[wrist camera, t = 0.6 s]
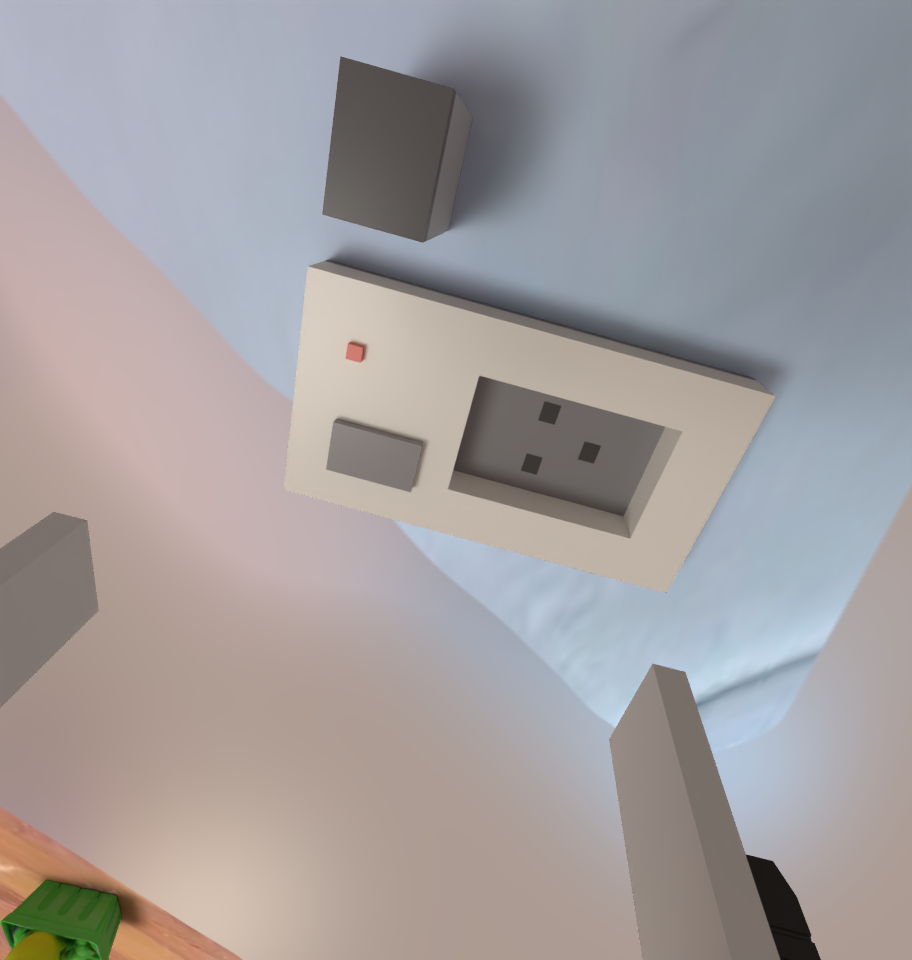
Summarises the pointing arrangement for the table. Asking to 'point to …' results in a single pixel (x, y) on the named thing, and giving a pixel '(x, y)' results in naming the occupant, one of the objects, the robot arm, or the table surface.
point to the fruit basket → (62, 924)
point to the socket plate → (510, 427)
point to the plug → (395, 152)
